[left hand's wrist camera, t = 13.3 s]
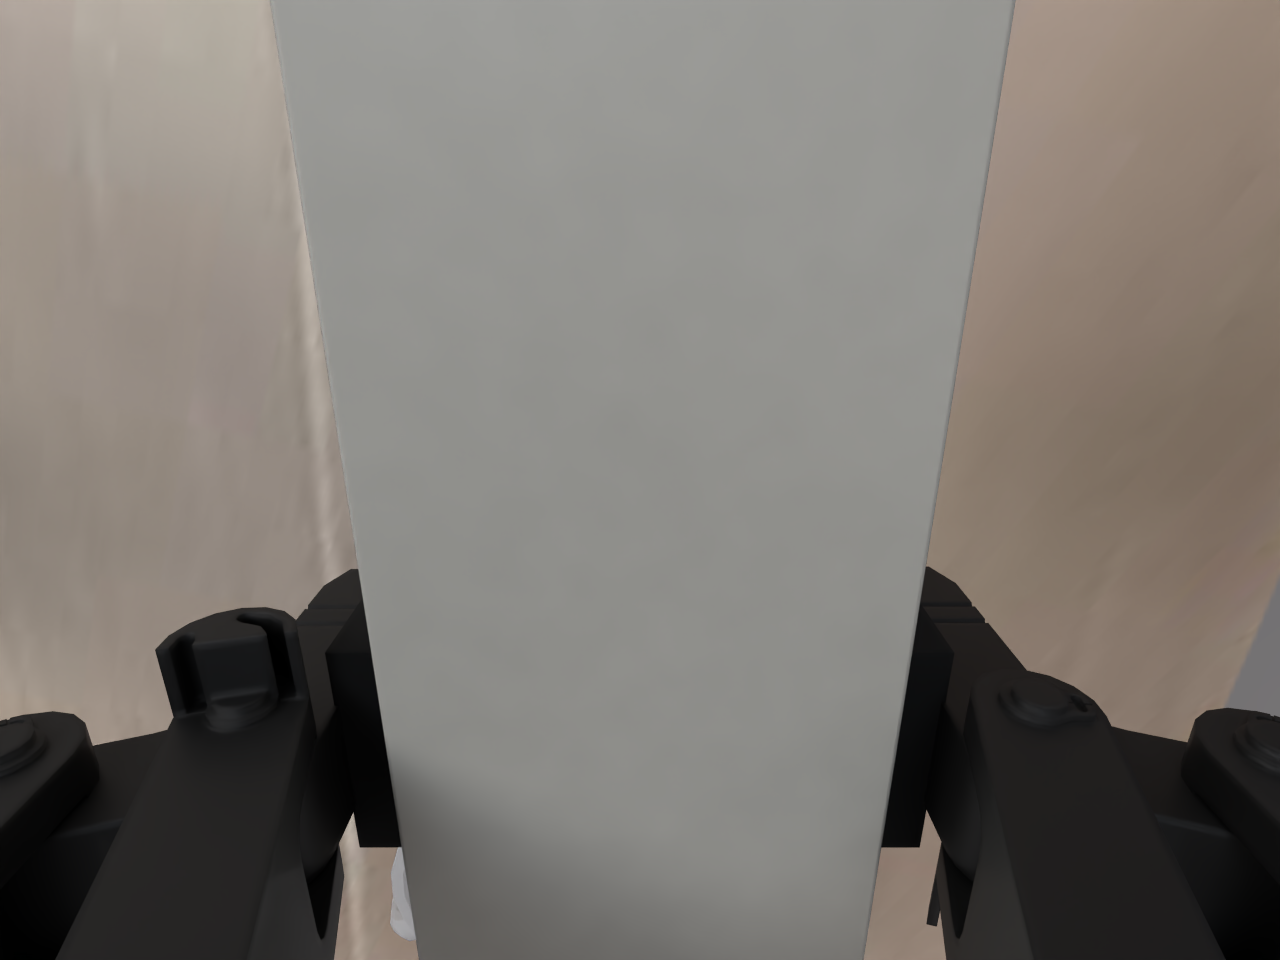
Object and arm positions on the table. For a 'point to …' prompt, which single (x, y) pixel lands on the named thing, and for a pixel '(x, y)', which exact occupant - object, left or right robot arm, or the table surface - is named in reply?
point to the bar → (642, 439)
